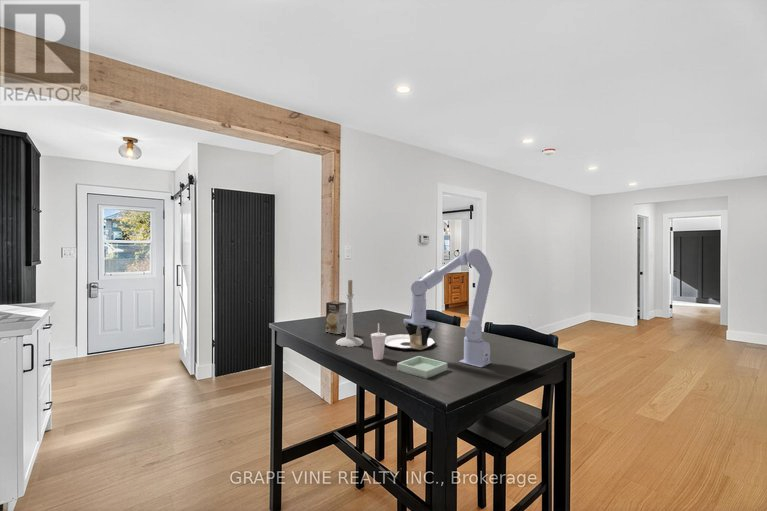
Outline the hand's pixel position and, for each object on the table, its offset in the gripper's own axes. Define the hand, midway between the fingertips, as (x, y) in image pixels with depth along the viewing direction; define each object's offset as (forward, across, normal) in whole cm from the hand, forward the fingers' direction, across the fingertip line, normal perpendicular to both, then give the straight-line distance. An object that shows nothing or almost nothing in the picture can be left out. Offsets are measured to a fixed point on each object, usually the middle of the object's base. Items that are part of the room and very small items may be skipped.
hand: (418, 343), depth 143 cm
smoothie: (+6, +11, +12) cm, 17 cm away
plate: (+6, +17, -14) cm, 23 cm away
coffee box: (+6, +58, -5) cm, 59 cm away
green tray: (+6, -10, +11) cm, 16 cm away
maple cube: (+2, 0, 0) cm, 2 cm away
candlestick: (+6, +37, +4) cm, 38 cm away
